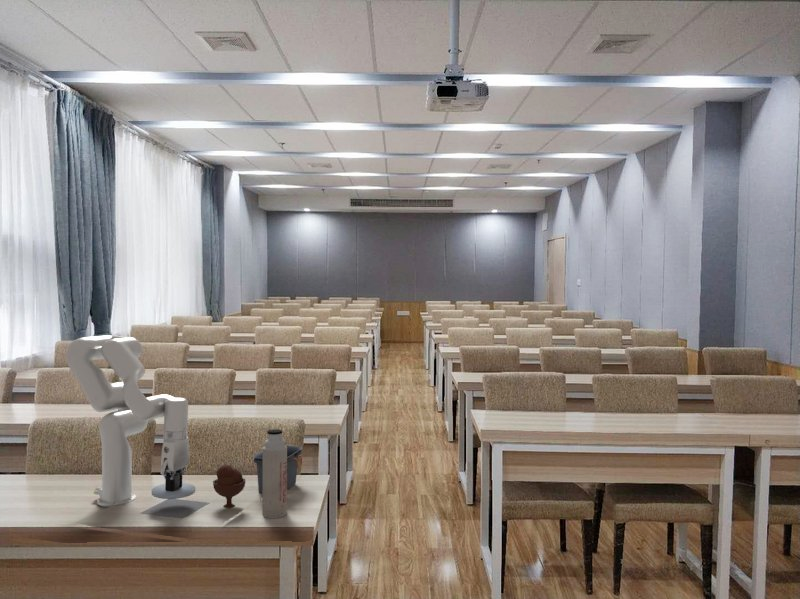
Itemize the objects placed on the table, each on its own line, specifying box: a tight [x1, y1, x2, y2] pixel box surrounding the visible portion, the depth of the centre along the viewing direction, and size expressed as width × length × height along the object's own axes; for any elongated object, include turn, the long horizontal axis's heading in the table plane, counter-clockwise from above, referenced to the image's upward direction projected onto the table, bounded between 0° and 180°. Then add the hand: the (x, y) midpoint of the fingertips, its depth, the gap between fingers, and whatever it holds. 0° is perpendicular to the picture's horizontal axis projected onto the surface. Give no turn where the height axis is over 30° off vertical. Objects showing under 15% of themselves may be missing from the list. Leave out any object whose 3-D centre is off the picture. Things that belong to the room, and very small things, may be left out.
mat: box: [140, 498, 210, 519], centre depth 225 cm, size 16×16×1 cm
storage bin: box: [252, 444, 303, 495], centre depth 249 cm, size 21×16×14 cm
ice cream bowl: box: [212, 464, 246, 509], centre depth 227 cm, size 11×11×15 cm
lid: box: [151, 472, 196, 500], centre depth 225 cm, size 14×14×6 cm
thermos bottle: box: [261, 428, 288, 519], centre depth 223 cm, size 8×8×28 cm
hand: (173, 488), depth 225 cm, fingers closed on lid, 3 cm apart
